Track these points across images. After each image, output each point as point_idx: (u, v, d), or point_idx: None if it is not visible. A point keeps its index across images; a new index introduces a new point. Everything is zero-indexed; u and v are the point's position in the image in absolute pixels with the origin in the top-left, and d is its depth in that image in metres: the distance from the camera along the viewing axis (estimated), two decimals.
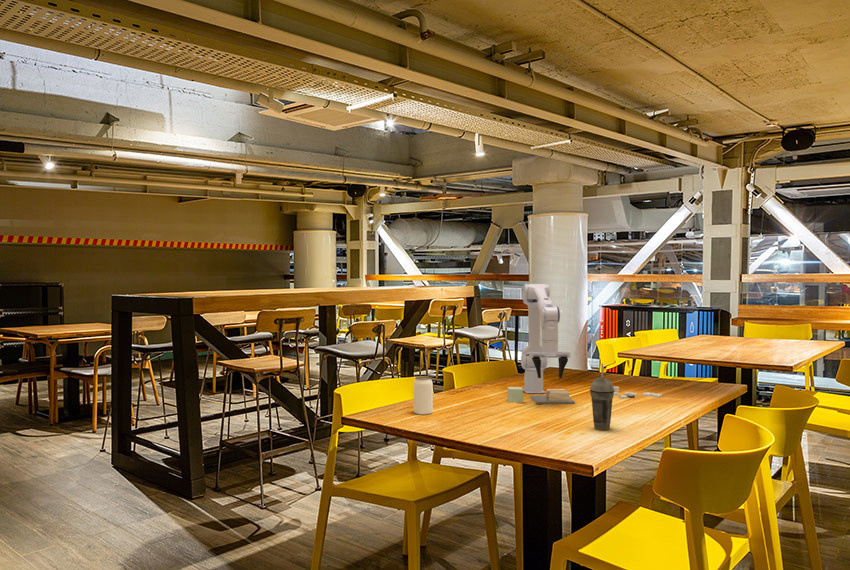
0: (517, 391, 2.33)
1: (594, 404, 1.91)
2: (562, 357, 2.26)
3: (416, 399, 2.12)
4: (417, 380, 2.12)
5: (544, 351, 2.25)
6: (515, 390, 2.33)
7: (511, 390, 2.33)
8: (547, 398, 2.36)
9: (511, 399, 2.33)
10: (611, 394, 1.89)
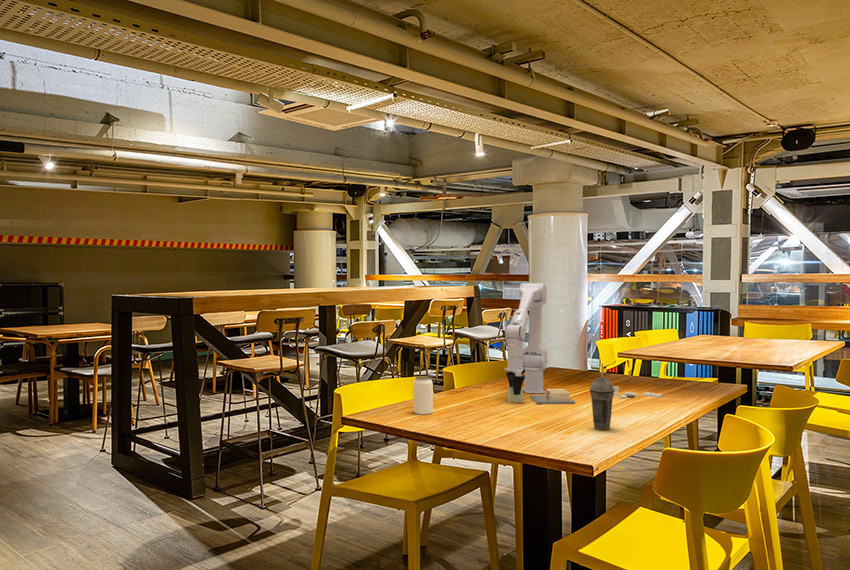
0: None
1: (594, 404, 1.91)
2: (514, 374, 2.31)
3: (416, 399, 2.12)
4: (417, 380, 2.12)
5: None
6: None
7: (511, 390, 2.33)
8: (547, 398, 2.36)
9: (511, 399, 2.33)
10: (611, 394, 1.89)
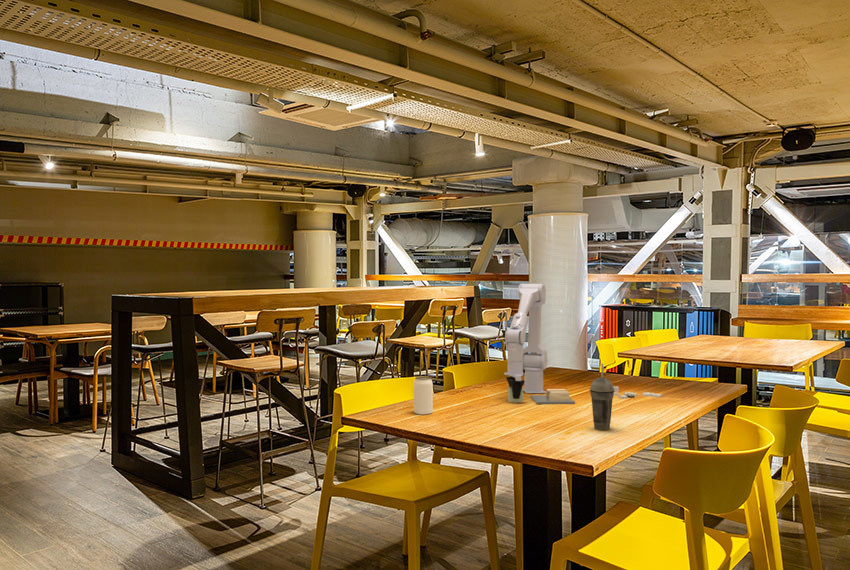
0: None
1: (594, 404, 1.91)
2: (514, 379, 2.31)
3: (416, 399, 2.12)
4: (417, 380, 2.12)
5: None
6: None
7: (511, 390, 2.33)
8: (547, 398, 2.36)
9: (511, 399, 2.33)
10: (611, 394, 1.89)
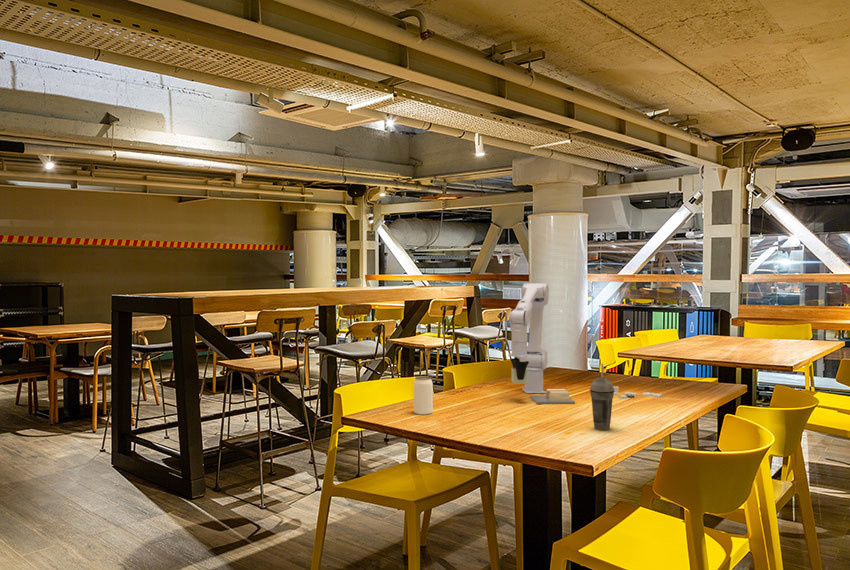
0: None
1: (594, 404, 1.91)
2: (518, 360, 2.31)
3: (416, 399, 2.12)
4: (417, 380, 2.12)
5: None
6: None
7: (515, 371, 2.33)
8: (547, 398, 2.36)
9: (515, 380, 2.33)
10: (611, 394, 1.89)
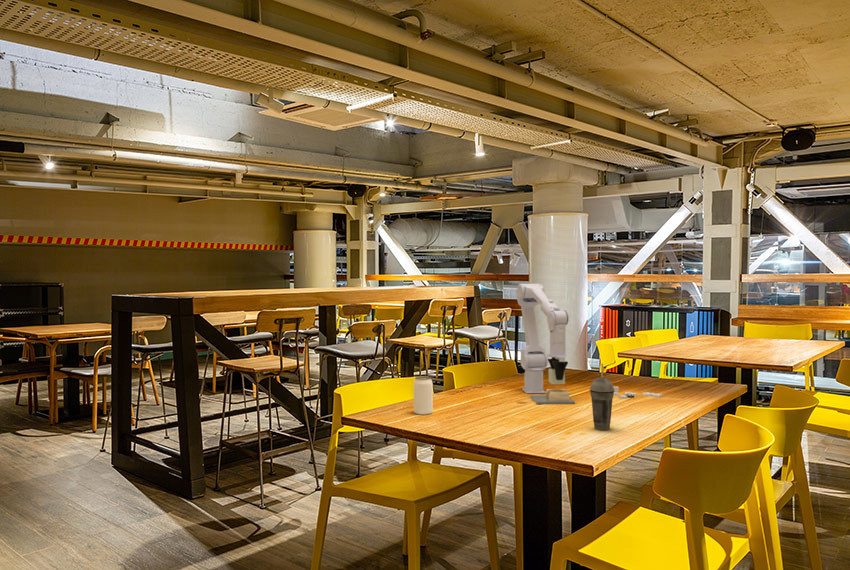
0: None
1: (594, 404, 1.91)
2: (558, 360, 2.31)
3: (416, 399, 2.12)
4: (417, 380, 2.12)
5: None
6: None
7: (553, 371, 2.33)
8: (547, 398, 2.36)
9: (553, 380, 2.33)
10: (611, 394, 1.89)
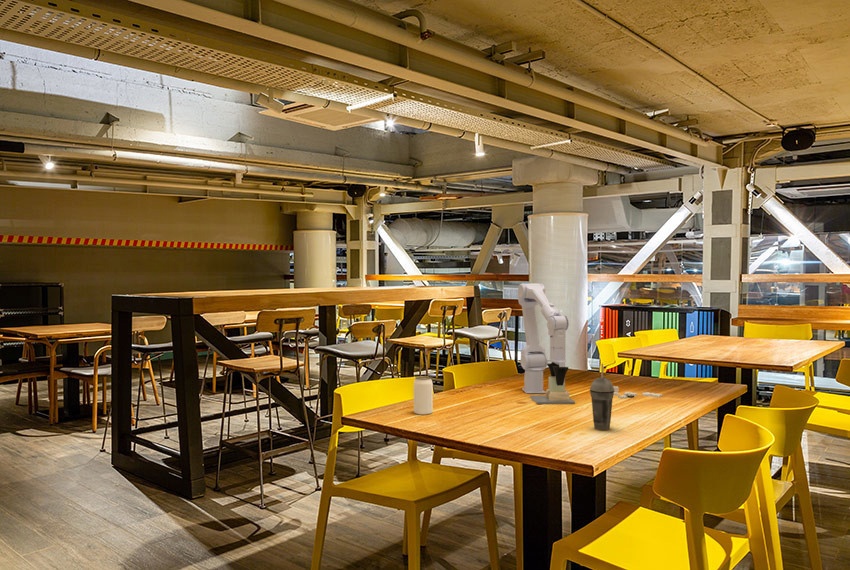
0: None
1: (594, 404, 1.91)
2: (558, 365, 2.31)
3: (416, 399, 2.12)
4: (417, 380, 2.12)
5: None
6: None
7: (553, 379, 2.33)
8: (547, 398, 2.36)
9: (553, 388, 2.33)
10: (611, 394, 1.89)
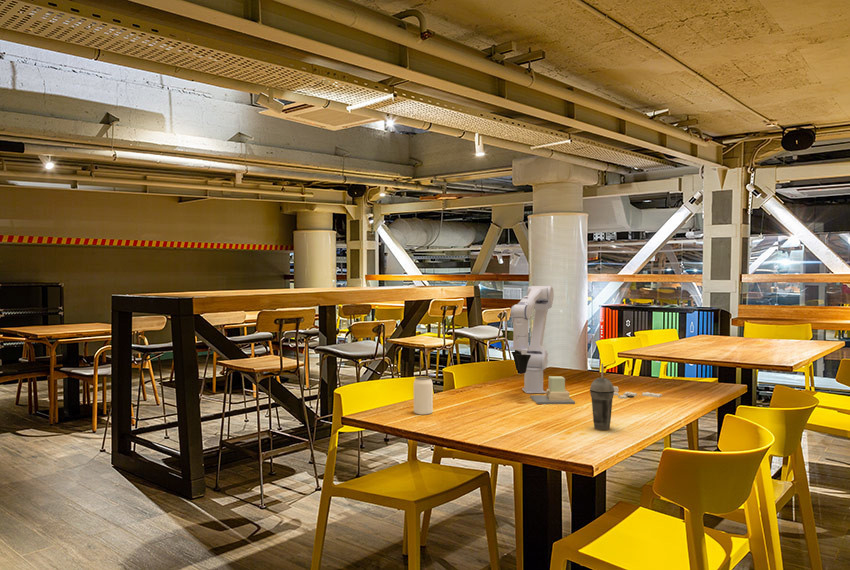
0: (559, 380, 2.33)
1: (594, 404, 1.91)
2: (520, 353, 2.36)
3: (416, 399, 2.12)
4: (417, 380, 2.12)
5: None
6: (557, 379, 2.33)
7: (553, 379, 2.33)
8: (547, 398, 2.36)
9: (553, 388, 2.33)
10: (611, 394, 1.89)
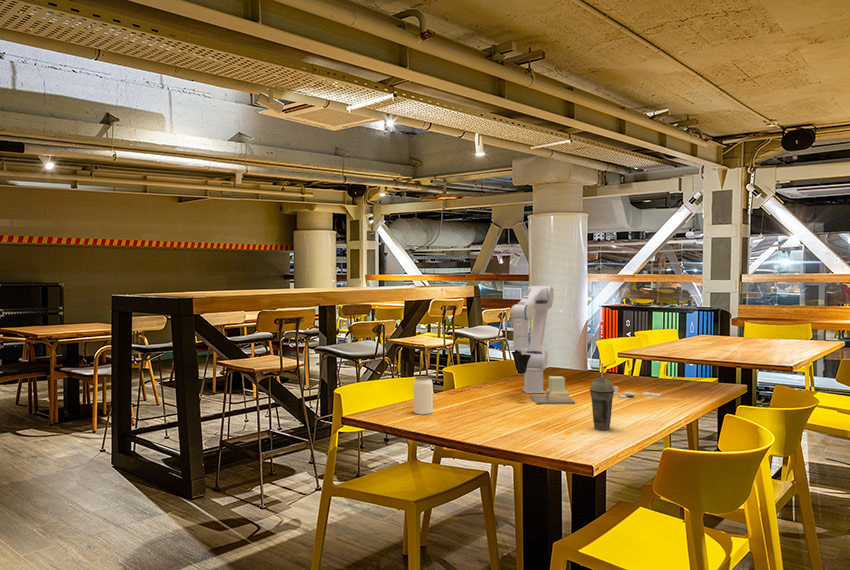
0: (559, 380, 2.33)
1: (594, 404, 1.91)
2: (520, 353, 2.36)
3: (416, 399, 2.12)
4: (417, 380, 2.12)
5: None
6: (557, 379, 2.33)
7: (553, 379, 2.33)
8: (547, 398, 2.36)
9: (553, 388, 2.33)
10: (611, 394, 1.89)
